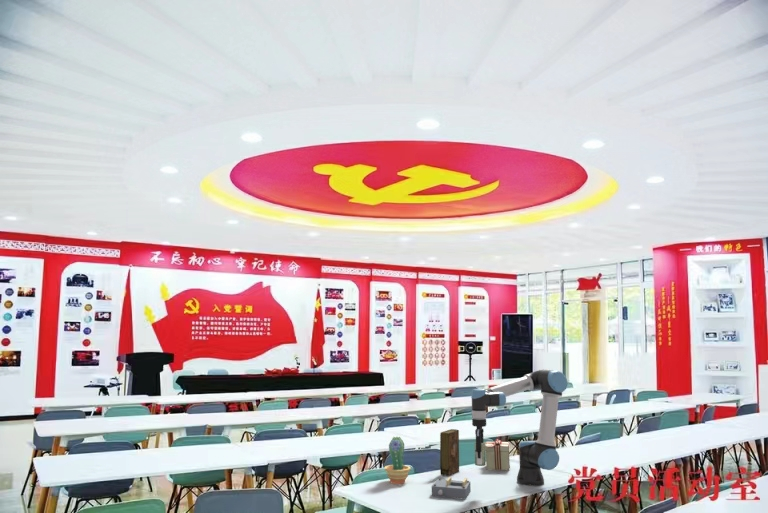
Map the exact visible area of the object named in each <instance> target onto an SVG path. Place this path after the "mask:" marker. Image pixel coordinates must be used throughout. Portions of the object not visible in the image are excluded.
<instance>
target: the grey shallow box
mask: <svg viewBox="0 0 768 513" xmlns="http://www.w3.org/2000/svg"><path fill="white" fill-rule="evenodd" d="M471 488H472V487H471V481H470V480H468V478H467V477H465V478H464V479H463V480H455V479H454V480H452V476H448V478H447V479H442V478H437V479H436V480H435V481H434V483H432V485H431V497H439V498H447V497H449V498H450V499H458V498H462V499H461V500H467V498H468V497H469V495H470V493H471V490H472V489H471ZM467 496H468V497H467Z"/></svg>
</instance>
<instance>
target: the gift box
mask: <svg viewBox="0 0 768 513" xmlns="http://www.w3.org/2000/svg"><path fill="white" fill-rule="evenodd" d="M484 443H485V461H486V465H485V467H486V468H485V469H486V470H488V471H510V470H511V466H510V442H508V441H502V440H500V439H498V438H496V439H495V441H484Z"/></svg>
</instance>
